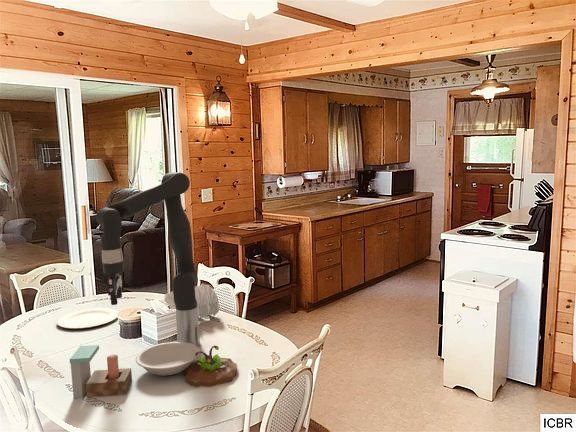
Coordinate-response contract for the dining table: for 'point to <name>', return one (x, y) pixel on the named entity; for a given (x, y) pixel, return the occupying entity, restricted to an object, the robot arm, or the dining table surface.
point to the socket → (108, 383)
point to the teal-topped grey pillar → (81, 368)
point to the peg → (113, 367)
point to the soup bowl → (167, 357)
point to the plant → (210, 370)
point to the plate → (87, 318)
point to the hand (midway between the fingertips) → (116, 301)
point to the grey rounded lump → (200, 301)
